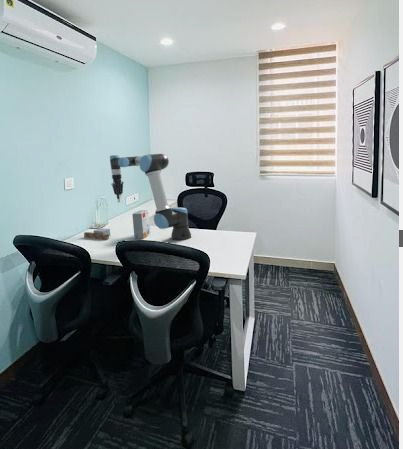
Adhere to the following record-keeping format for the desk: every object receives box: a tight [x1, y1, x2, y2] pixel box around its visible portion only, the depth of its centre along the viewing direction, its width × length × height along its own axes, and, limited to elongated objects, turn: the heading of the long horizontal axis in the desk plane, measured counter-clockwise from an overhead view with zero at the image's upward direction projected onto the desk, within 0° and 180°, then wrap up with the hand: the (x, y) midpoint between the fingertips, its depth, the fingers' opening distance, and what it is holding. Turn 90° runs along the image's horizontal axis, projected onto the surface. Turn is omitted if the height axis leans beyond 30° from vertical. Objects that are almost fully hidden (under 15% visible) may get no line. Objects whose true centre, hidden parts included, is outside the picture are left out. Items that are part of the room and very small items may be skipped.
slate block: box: [93, 227, 111, 237], centre depth 269 cm, size 10×8×6 cm
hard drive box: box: [132, 209, 151, 240], centre depth 261 cm, size 16×8×20 cm, turn 168°
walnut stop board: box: [83, 231, 110, 241], centre depth 265 cm, size 24×2×4 cm, turn 63°
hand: (119, 202), depth 281 cm, fingers closed
